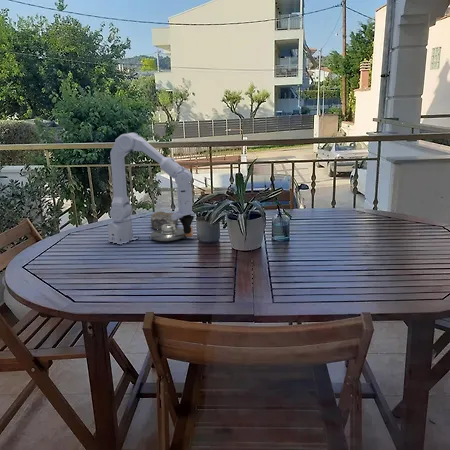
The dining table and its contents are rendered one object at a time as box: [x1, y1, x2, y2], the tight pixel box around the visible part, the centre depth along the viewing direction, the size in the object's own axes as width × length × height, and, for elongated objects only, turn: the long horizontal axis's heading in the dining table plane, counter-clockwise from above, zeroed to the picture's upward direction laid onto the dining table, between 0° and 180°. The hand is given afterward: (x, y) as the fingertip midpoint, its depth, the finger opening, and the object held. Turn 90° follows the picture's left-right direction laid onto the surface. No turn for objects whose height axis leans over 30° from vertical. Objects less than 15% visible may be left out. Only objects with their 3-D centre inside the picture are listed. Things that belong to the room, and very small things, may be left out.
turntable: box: [150, 225, 194, 242], centre depth 166 cm, size 15×18×4 cm
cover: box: [161, 224, 176, 235], centre depth 166 cm, size 6×6×3 cm
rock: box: [150, 210, 179, 230], centre depth 184 cm, size 13×6×15 cm
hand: (187, 233), depth 162 cm, fingers closed, pressing on turntable
